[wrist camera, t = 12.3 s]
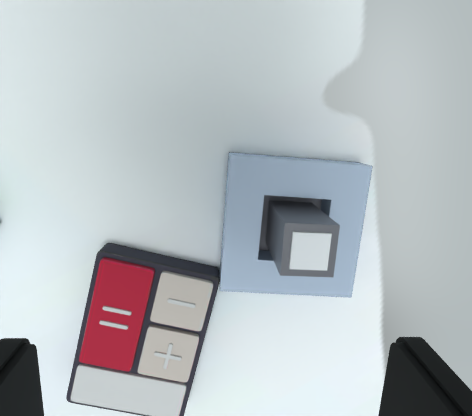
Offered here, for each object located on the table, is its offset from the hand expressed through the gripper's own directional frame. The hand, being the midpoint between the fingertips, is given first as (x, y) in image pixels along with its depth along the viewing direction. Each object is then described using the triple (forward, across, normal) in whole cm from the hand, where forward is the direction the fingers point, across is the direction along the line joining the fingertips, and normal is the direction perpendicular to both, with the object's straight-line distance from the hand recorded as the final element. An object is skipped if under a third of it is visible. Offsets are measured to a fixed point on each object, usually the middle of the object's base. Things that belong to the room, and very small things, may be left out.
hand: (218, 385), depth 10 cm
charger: (+25, -7, +3) cm, 26 cm away
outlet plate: (+25, -7, +3) cm, 26 cm away
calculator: (+25, +6, +14) cm, 30 cm away
